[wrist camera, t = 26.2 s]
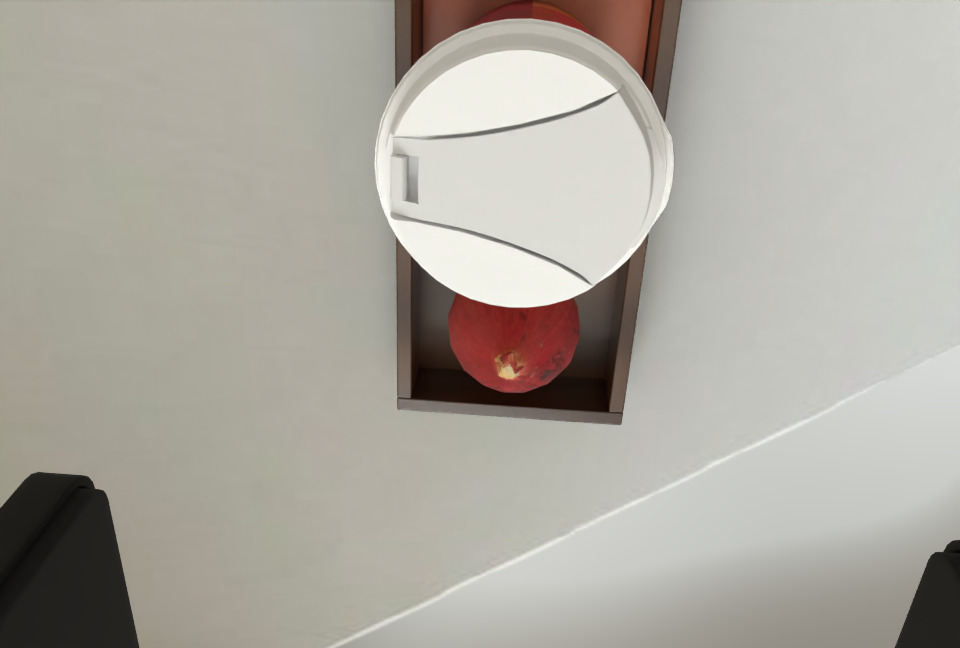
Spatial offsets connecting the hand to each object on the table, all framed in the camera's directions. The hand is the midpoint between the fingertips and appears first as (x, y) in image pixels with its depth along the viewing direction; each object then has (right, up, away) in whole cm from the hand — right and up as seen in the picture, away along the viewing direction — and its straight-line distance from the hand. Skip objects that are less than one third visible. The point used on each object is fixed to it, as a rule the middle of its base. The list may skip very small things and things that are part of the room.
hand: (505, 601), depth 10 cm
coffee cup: (+2, +14, +26) cm, 30 cm away
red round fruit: (+1, +5, +31) cm, 32 cm away
